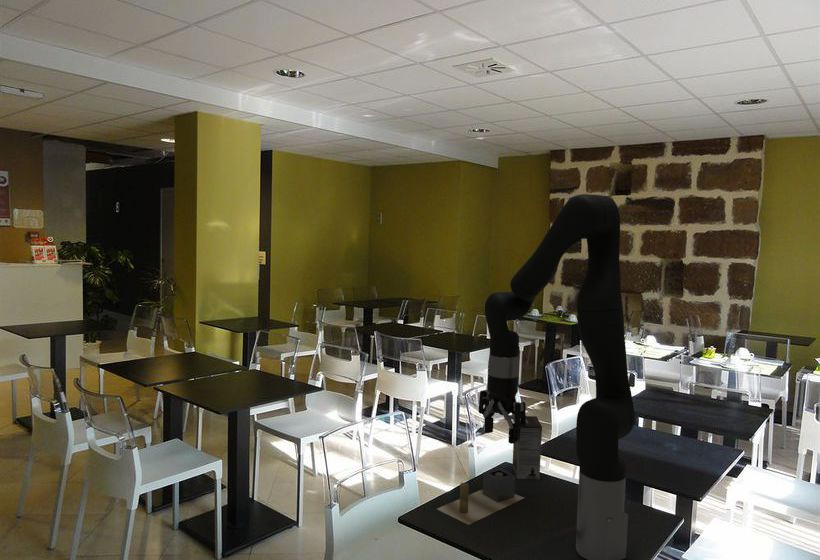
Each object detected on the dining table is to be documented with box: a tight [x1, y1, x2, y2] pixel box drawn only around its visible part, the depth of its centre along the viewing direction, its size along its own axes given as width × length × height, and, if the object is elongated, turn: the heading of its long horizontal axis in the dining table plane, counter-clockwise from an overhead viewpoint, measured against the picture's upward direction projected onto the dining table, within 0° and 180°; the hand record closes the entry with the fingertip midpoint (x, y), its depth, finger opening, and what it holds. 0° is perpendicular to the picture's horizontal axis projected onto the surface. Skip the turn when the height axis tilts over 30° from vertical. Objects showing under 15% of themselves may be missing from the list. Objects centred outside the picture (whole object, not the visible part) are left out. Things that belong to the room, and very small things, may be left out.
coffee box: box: [512, 415, 543, 480], centre depth 162 cm, size 9×6×16 cm
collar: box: [482, 467, 516, 502], centre depth 147 cm, size 6×6×6 cm
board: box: [436, 473, 525, 525], centre depth 143 cm, size 21×10×8 cm, turn 133°
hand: (500, 437), depth 146 cm, fingers open, 8 cm apart
